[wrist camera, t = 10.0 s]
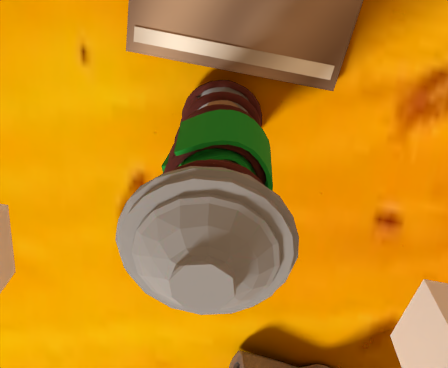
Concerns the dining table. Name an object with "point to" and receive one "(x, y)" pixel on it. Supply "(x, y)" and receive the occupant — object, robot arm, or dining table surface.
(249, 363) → the pipe
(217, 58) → the pad
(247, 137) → the shock absorber
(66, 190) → the dining table surface
